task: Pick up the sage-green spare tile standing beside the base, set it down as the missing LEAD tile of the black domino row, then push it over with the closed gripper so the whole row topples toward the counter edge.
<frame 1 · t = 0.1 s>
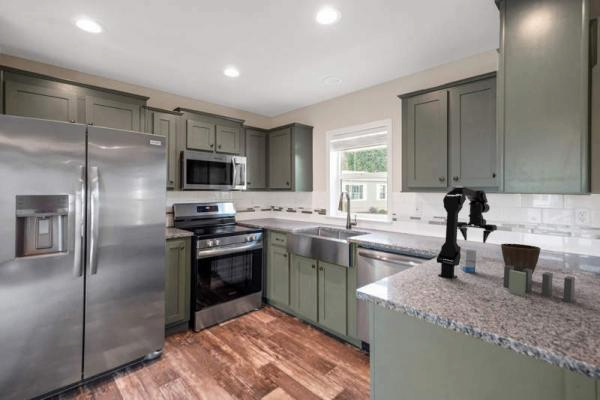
hand: (474, 241, 153), 15 cm above the counter, tool pointing down, fingers open, 9 cm apart
ink box: (467, 270, 150), on the counter
domino 4: (546, 295, 113), on the counter
domino 3: (526, 290, 118), on the counter
sage domino: (516, 293, 115), on the counter
domino 2: (508, 286, 124), on the counter
plant pot: (518, 279, 135), on the counter
domino end: (568, 300, 108), on the counter
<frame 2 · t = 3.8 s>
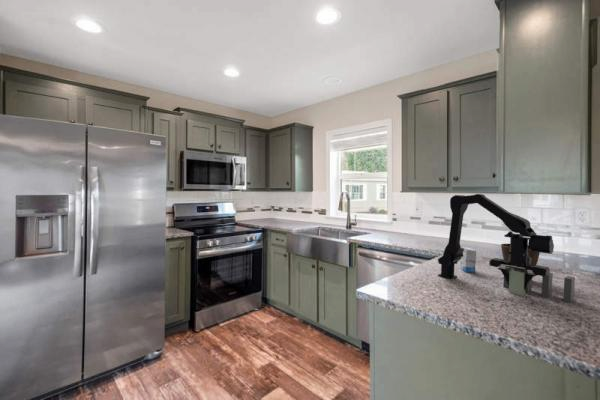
hand: (517, 287, 115), 3 cm above the counter, tool pointing down, fingers closed on sage domino, 5 cm apart
sage domino: (516, 293, 115), on the counter, touching gripper
everything else where it was.
when the fingers open (3 cm above the counter, at t = 8.0 s): sage domino stays where it is, on the counter.
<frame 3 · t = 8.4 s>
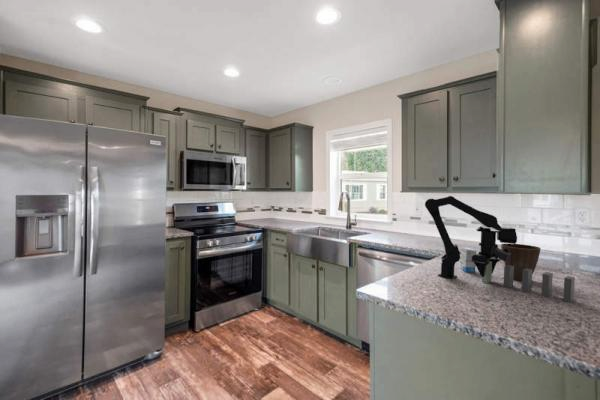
hand: (486, 275, 131), 3 cm above the counter, tool pointing down, fingers open, 9 cm apart
sage domino: (486, 281, 131), on the counter
everything else where it was.
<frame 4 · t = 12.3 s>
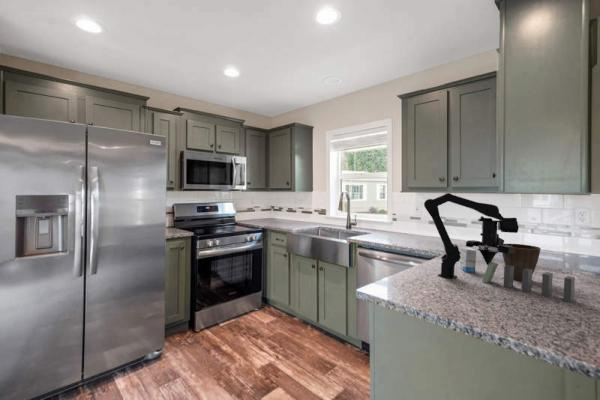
hand: (488, 264, 131), 8 cm above the counter, tool pointing down, fingers closed
sage domino: (486, 280, 131), on the counter, tilted 16°
everything else where it was.
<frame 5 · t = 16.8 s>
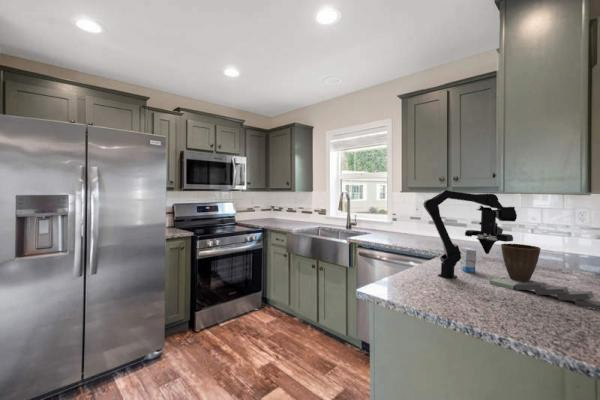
hand: (487, 253, 132), 12 cm above the counter, tool pointing down, fingers closed
domino 4: (560, 296, 110), point 1 cm above the counter, tilted 69°, touching domino 3, domino end
domino 3: (537, 291, 116), point 1 cm above the counter, tilted 72°, touching domino 2, domino 4
sage domino: (491, 281, 129), point 1 cm above the counter, tilted 90°
domino 2: (517, 286, 121), point 1 cm above the counter, tilted 73°, touching domino 3
domino end: (577, 301, 106), point 1 cm above the counter, tilted 90°, touching domino 4
everything else where it was.
at the end: domino end tilted 90°; sage domino tilted 90° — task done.
